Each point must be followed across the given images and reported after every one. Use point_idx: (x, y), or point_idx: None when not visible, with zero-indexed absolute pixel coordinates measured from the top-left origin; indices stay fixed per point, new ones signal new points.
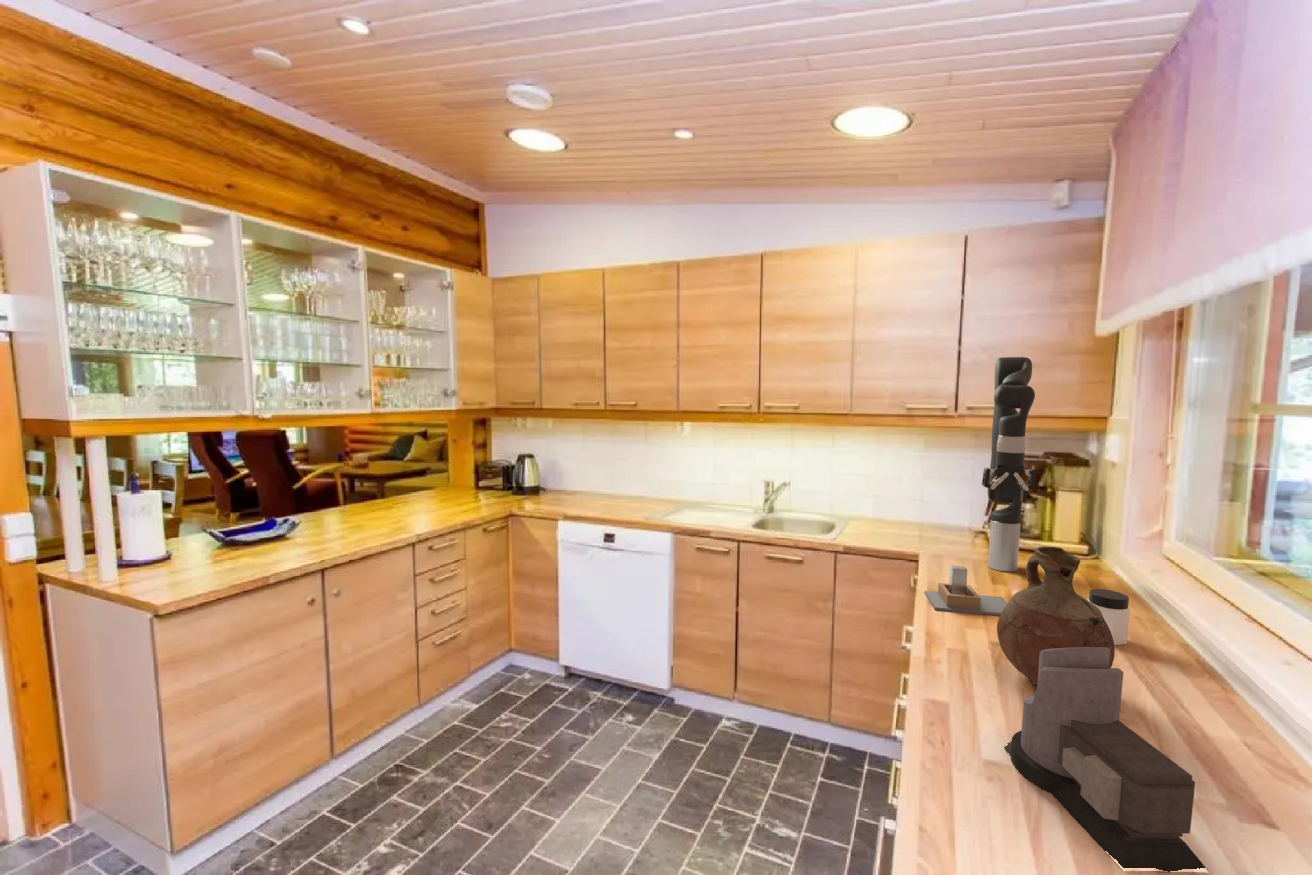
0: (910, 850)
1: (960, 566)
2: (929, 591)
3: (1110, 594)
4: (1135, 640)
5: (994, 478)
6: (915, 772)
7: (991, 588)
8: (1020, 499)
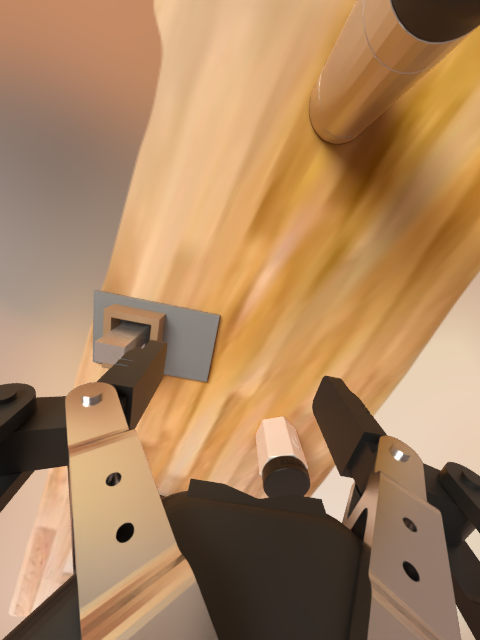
0: (10, 612)
1: (115, 349)
2: (102, 294)
3: (287, 487)
4: (306, 434)
5: (70, 492)
6: (19, 581)
7: (232, 260)
8: (327, 382)
